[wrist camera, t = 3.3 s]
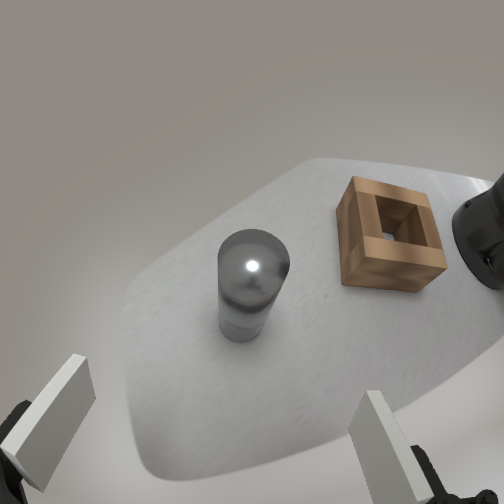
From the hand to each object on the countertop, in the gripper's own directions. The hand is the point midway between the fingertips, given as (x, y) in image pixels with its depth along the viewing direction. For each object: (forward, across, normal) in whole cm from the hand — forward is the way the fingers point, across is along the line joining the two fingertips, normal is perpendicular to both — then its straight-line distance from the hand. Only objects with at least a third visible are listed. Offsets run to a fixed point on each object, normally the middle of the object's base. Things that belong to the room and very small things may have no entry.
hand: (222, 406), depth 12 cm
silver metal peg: (+14, +1, -3) cm, 15 cm away
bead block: (+21, +16, +4) cm, 27 cm away
